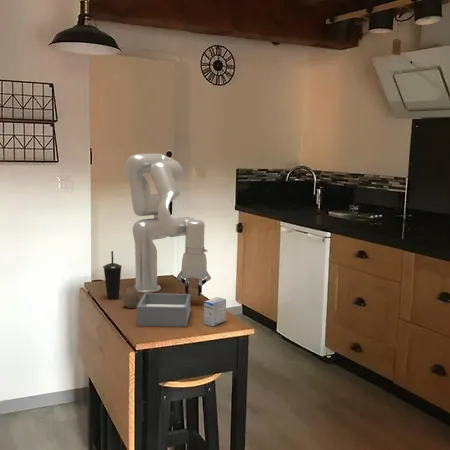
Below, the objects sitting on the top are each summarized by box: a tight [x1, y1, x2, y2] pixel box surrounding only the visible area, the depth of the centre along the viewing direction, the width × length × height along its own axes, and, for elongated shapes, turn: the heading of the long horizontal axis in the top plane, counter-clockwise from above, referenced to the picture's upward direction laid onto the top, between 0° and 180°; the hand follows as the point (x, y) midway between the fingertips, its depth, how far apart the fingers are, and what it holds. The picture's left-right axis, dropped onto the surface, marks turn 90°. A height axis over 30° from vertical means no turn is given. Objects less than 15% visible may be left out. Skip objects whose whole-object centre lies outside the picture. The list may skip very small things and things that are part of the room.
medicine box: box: [203, 296, 227, 327], centre depth 207 cm, size 8×4×9 cm, turn 145°
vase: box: [122, 284, 141, 309], centre depth 225 cm, size 7×7×9 cm
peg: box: [188, 278, 200, 301], centre depth 229 cm, size 4×4×10 cm
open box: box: [136, 292, 192, 328], centre depth 212 cm, size 18×18×7 cm
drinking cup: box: [102, 251, 123, 300], centre depth 237 cm, size 8×8×20 cm
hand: (193, 294), depth 230 cm, fingers closed on peg, 4 cm apart
